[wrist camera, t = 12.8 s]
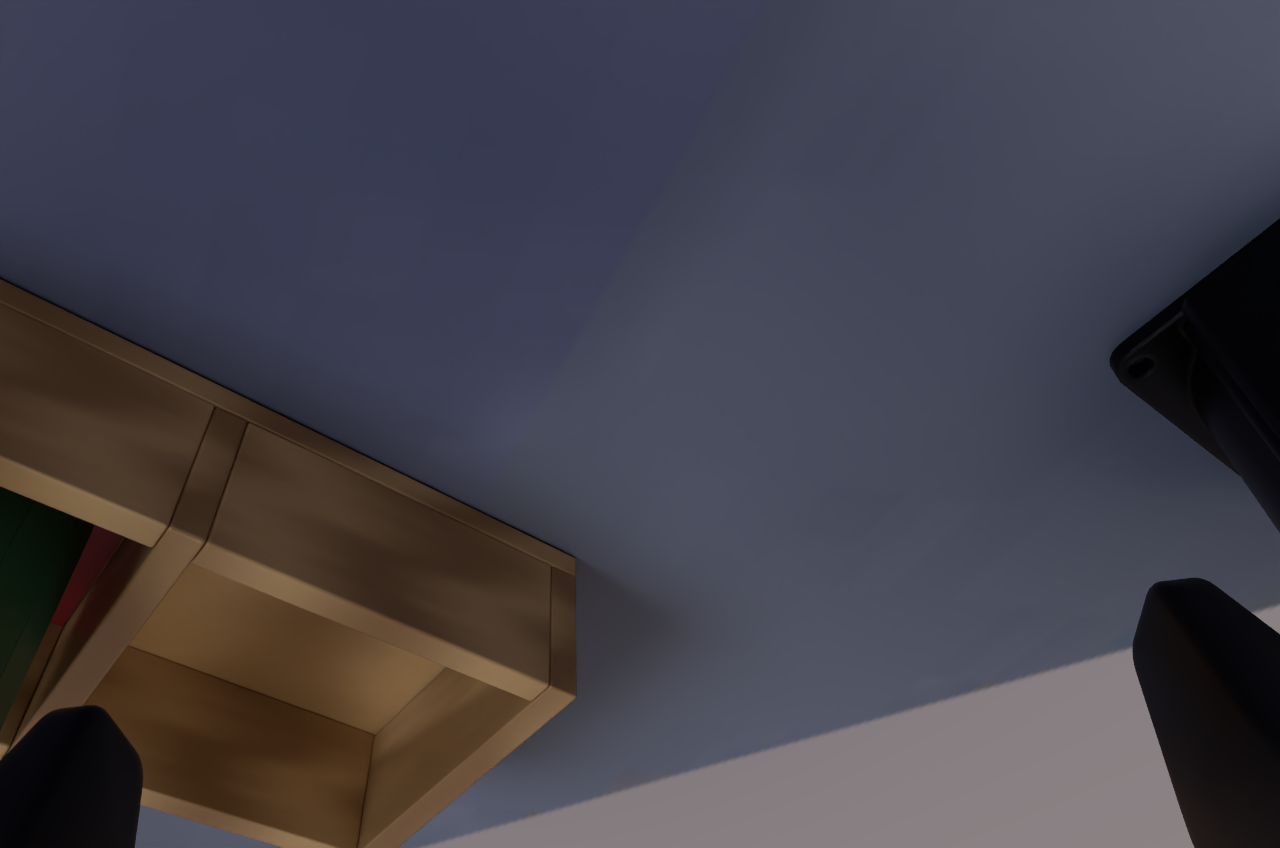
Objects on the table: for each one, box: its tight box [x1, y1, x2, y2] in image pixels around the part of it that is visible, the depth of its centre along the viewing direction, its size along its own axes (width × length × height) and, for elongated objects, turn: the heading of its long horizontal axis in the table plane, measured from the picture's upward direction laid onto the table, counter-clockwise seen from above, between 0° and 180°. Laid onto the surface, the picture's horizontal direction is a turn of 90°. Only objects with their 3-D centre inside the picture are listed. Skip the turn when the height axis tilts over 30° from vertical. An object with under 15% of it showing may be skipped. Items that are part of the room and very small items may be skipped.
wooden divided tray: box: [0, 279, 577, 848], centre depth 23 cm, size 17×9×4 cm, turn 52°
